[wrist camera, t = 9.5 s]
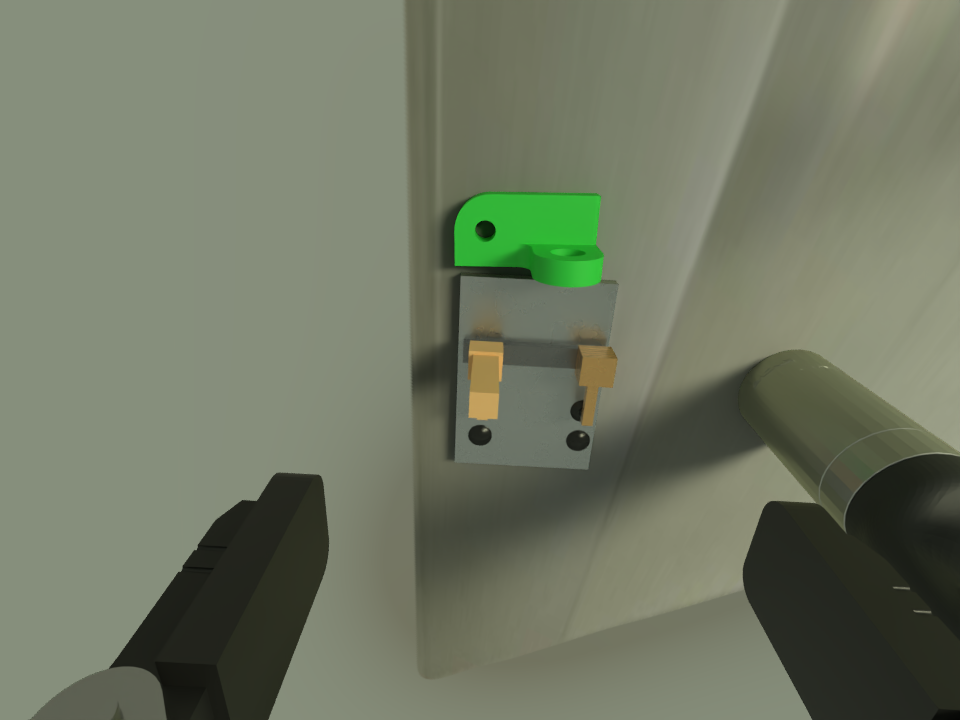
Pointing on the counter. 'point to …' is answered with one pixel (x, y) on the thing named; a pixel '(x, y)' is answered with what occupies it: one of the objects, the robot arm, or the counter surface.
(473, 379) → the leg
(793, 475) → the robot arm
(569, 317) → the plate
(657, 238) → the counter surface
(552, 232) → the mechanical part
